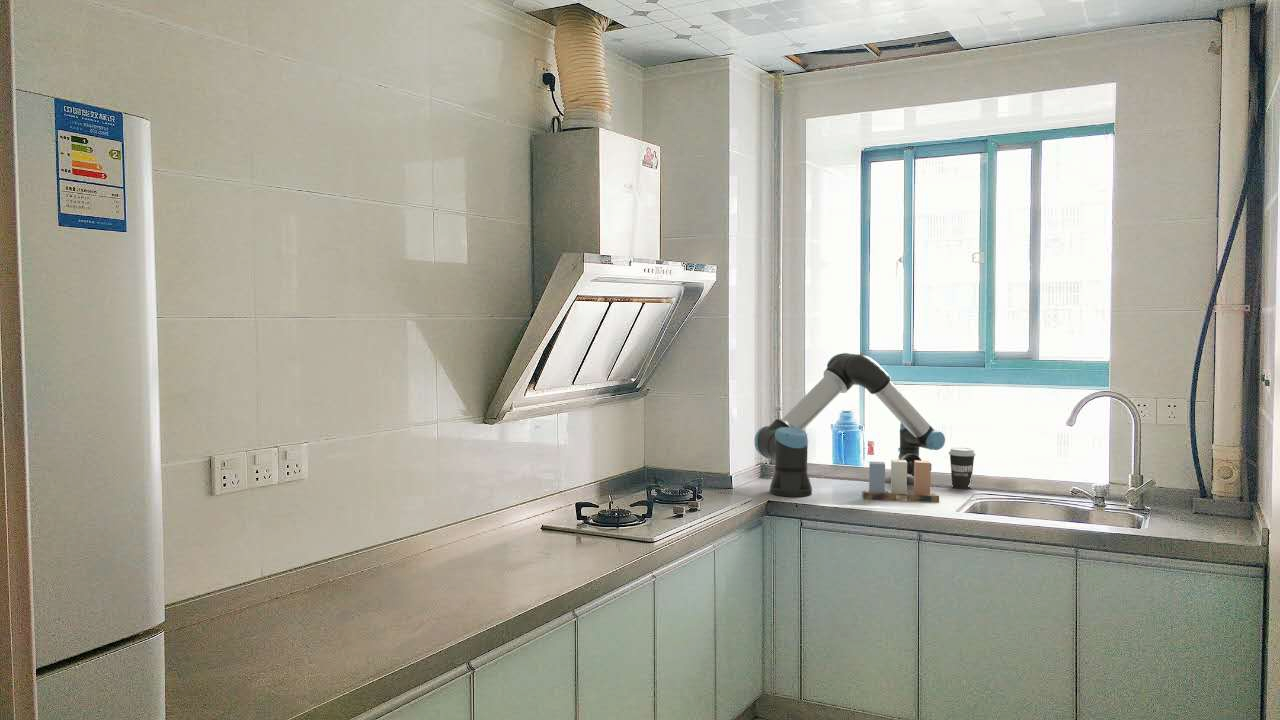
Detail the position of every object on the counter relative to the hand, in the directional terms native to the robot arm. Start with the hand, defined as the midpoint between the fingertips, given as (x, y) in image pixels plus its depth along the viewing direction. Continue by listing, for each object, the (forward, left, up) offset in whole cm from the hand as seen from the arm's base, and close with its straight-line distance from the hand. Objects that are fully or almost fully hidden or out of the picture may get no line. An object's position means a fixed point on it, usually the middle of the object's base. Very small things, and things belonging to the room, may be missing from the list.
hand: (919, 473), depth 329 cm
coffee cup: (+17, +14, -7) cm, 23 cm away
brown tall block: (0, -9, -6) cm, 11 cm away
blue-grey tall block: (-16, -15, -6) cm, 23 cm away
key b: (-8, -9, -6) cm, 13 cm away
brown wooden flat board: (-8, -11, -7) cm, 16 cm away
